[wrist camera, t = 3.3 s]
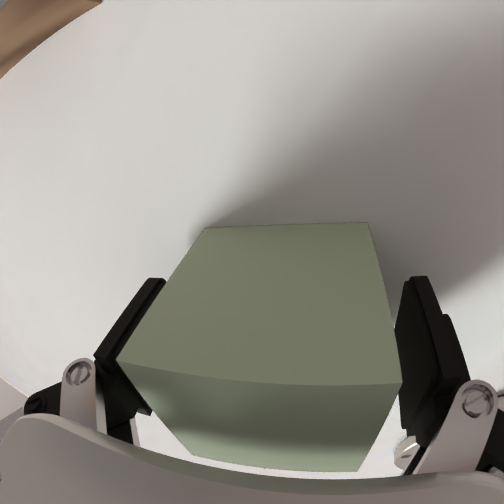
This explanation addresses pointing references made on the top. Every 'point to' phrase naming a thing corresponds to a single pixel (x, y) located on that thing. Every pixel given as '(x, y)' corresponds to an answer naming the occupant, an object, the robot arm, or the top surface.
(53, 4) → the walnut block
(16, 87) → the top surface
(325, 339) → the sage block
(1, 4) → the grey square block
